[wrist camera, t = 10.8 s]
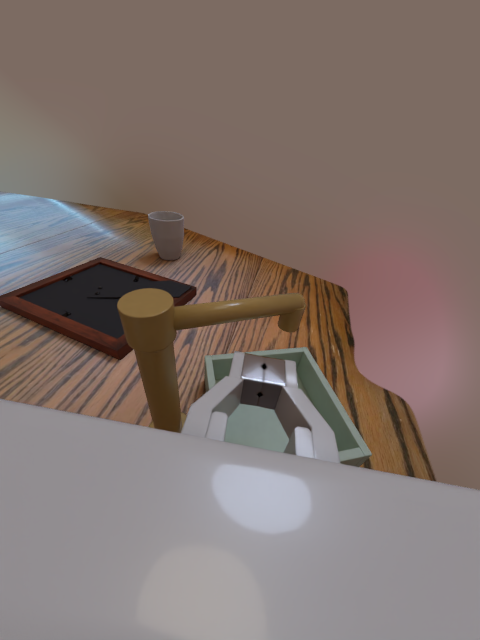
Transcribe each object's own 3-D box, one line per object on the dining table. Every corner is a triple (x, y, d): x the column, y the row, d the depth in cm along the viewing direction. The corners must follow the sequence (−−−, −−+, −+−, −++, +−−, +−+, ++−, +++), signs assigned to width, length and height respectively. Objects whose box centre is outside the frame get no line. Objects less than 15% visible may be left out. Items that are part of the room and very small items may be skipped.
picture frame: (196, 294, 46) (102, 264, 53) (196, 286, 45) (100, 256, 51) (120, 359, 31) (1, 306, 38) (117, 349, 30) (-6, 296, 36)
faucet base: (202, 433, 25) (202, 338, 16) (166, 471, 22) (142, 379, 13) (173, 406, 27) (160, 310, 18) (136, 438, 24) (99, 339, 15)
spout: (130, 369, 15) (115, 320, 12) (130, 337, 17) (117, 290, 14) (306, 336, 19) (322, 295, 17) (287, 313, 21) (298, 275, 19)
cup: (189, 253, 63) (188, 214, 57) (179, 264, 56) (176, 222, 50) (161, 248, 63) (157, 209, 57) (147, 259, 57) (141, 217, 51)
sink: (297, 369, 33) (306, 346, 31) (351, 473, 23) (372, 454, 20) (204, 379, 30) (204, 355, 27) (218, 505, 20) (221, 488, 17)
